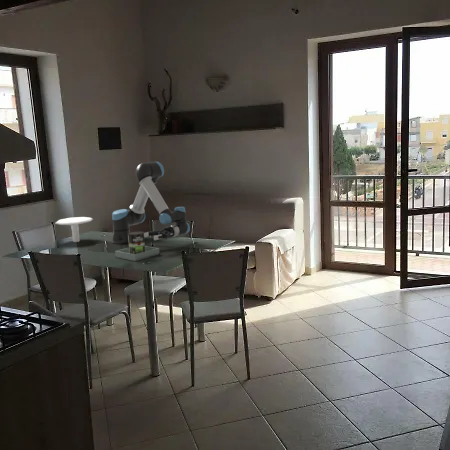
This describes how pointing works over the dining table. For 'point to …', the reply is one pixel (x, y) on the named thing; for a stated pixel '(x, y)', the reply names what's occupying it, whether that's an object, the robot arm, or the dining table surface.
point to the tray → (135, 257)
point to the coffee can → (136, 242)
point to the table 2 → (74, 225)
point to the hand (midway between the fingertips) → (147, 237)
